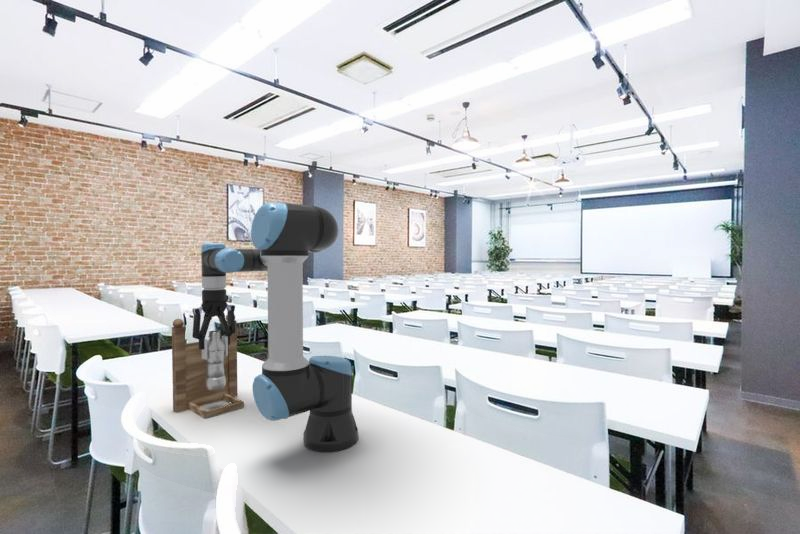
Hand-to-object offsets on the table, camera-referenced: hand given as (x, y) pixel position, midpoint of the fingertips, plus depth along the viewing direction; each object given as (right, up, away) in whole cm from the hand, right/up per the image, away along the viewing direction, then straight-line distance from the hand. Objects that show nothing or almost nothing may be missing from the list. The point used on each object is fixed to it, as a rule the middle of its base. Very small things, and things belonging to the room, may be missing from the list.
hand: (215, 356), depth 140 cm
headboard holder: (0, -18, 0) cm, 18 cm away
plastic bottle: (0, -12, 0) cm, 12 cm away
